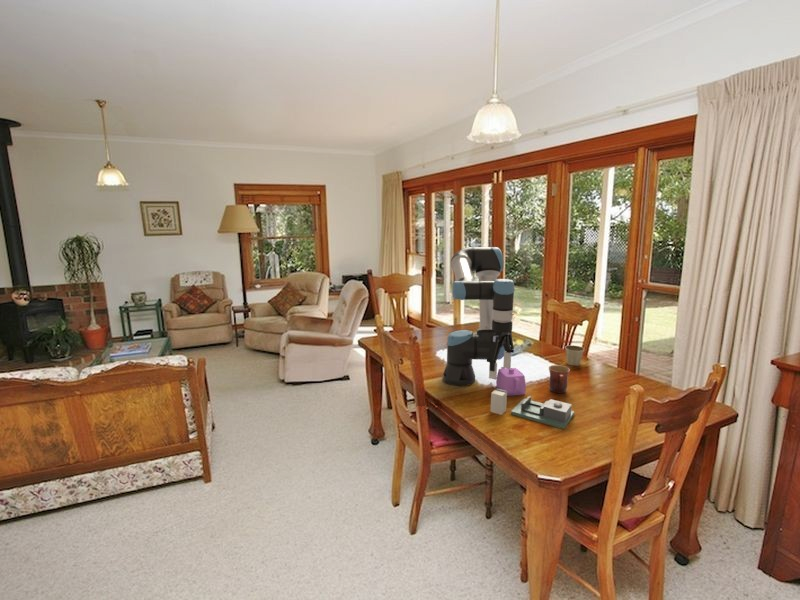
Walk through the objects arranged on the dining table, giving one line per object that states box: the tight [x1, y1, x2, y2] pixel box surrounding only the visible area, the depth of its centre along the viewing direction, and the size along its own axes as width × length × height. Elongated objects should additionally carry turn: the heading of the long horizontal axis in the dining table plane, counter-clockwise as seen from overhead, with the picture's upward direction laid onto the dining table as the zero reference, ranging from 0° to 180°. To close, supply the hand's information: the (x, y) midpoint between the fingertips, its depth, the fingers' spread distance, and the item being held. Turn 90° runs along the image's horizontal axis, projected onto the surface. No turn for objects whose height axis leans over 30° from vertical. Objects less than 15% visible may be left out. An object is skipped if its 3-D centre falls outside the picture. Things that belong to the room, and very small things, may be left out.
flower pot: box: [564, 344, 585, 367], centre depth 213 cm, size 9×9×9 cm
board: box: [510, 395, 575, 430], centre depth 160 cm, size 20×14×6 cm
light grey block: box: [489, 388, 508, 416], centre depth 163 cm, size 5×5×8 cm
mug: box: [548, 364, 571, 394], centre depth 179 cm, size 12×9×10 cm
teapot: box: [495, 366, 527, 397], centre depth 182 cm, size 18×10×10 cm, turn 8°
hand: (500, 373), depth 160 cm, fingers open, 13 cm apart
